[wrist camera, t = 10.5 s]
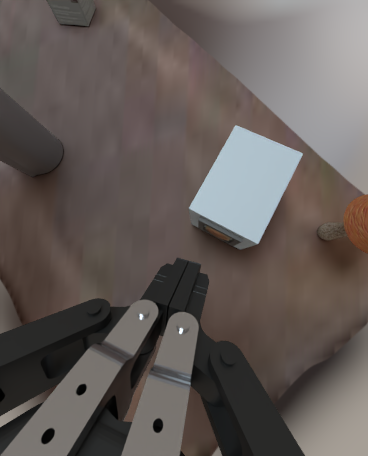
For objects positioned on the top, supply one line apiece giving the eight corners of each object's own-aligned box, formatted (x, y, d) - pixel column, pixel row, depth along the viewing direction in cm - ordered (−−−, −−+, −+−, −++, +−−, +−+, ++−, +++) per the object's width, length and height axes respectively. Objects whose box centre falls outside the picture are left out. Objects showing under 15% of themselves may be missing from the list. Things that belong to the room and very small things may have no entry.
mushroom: (342, 265, 33) (460, 267, 18) (295, 247, 34) (371, 236, 19) (353, 223, 34) (474, 192, 19) (308, 207, 35) (389, 166, 20)
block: (238, 252, 34) (255, 248, 24) (189, 226, 36) (186, 212, 25) (273, 184, 36) (303, 153, 26) (225, 162, 38) (235, 125, 27)
